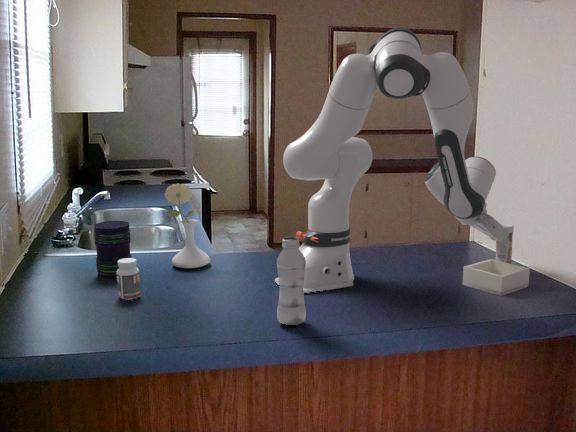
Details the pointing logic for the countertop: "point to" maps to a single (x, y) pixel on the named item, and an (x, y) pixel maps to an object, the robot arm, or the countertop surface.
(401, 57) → the robot arm
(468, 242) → the countertop surface
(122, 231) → the storage jar
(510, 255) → the sprinkles bottle
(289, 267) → the plastic bottle
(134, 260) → the pill bottle
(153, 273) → the countertop surface
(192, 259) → the flower in vase
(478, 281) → the box
